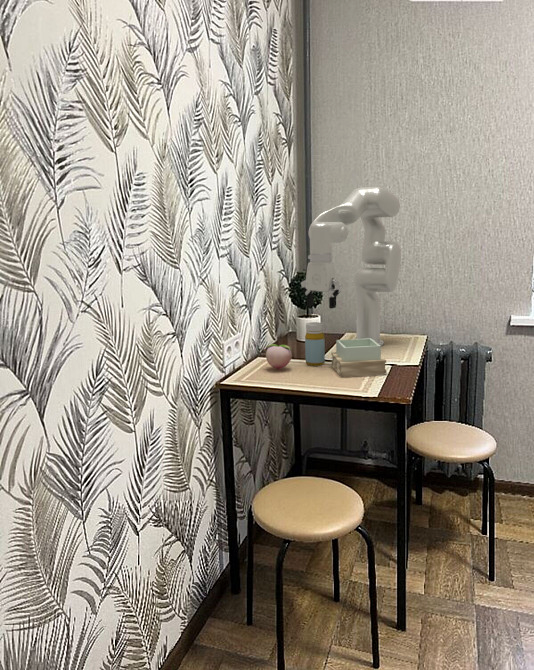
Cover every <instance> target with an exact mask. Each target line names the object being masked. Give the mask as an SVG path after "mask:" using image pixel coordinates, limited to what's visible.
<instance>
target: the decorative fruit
mask: <svg viewBox="0 0 534 670" xmlns="http://www.w3.org/2000/svg"><path fill="white" fill-rule="evenodd" d="M265 348H267V350H266V352H265V358H266V362H267V363H268V365H270V366H271V367H273V368H275V369H277V370H280V369H283V368H284V367H286V366H288V365H289V363H290V362H291V360H292V351H291V350H292V348H291V347H290V346H289V345H286V344H279V341H278V342H277V344H275V343H270V344H268V345H267V346H266V347H265Z"/></svg>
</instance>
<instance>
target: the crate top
mask: <svg viewBox="0 0 534 670" xmlns="http://www.w3.org/2000/svg"><path fill="white" fill-rule="evenodd" d="M335 345H336V346H335V347H336V348H335V349H336V350H335V352H336V353H337V355H338V356H339V357H340V358H341V359H342V360H343V361H344V362H349V361H367V360H381V357H382V354H381V353H382V349H381V348H382V346H380V345H379V344H378V343H376V342H375V341H374V340H373V339H371V338H367V339H357V338H355V339H354V338H351V339H336V340H335Z"/></svg>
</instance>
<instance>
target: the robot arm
mask: <svg viewBox="0 0 534 670" xmlns="http://www.w3.org/2000/svg"><path fill="white" fill-rule="evenodd" d="M400 209H401V208H400V201H399V198H398V197H397V196H396V195H395V194H394V193H392V192H391V191H390V190H388V189H386V188H384V187H381V186H366V187H365V186H363V187H362V186H361V187H357V188H355V189H353V190H352V191H351V192H350V193H349V195H347V196H346V198H345V199H344V200H343V201H342V202H341V204H339V205H337V206H334V207H332V208H330V209H328V210H326V211H324V212H322V213H320V214H319V215H317V216H316V218H315V219H314V220H313V221H312V222H311V224H310V225H309V229H308V237H309V255H307V259H309V262H308V263H307V268H306V275H305V279H304V280H303V281H301V282H300V285H301V288H302V291H303V292H304V294H305V296H306V306H307V307H311V306H314V305H315V303H314V298H315V297H314V296H315V295H314V294H313V293H314V292H321V293H322V292H323V293H324V292H325V293H326V292H327V293H328V295H329V296H330V297H328V307H329V309H335V308H337V297H338V295H339V294H340V293H341V290H342V288H343V284H342V283H340V282H339V281H337V279H336V273H335V264H334V262H333V261H332V260H333V259H332V258H333V257H332V256H333V254H332V252H333V250H332V244H342V243H343V242H345V241H346V239H348V237H349V229H348V228H349V227H348V225H351V224H354V223H356V222H357V221H358V220H359V219H360V218H361V221H362V225H363V228H364V231H363V232H364V234H363V241H362V249H361V256H360V257H361V261H362V262H363V264H366V265H371V266H385V267H361V268H359V269H357V270H356V271H355V273H354V276H353V283H354V288H355V296H356V297H355V298H356V339H367V338H371V339H373V340H374V341H375V342H376V343H378V344H379V345H380V346H381V347H382V346H383V345H384V340H382V339H381V300H380V298H379V295H377V293H393V292H395V290H396V288H397V285H398V282H399V276H400V275H399V274H400V269H401V260H402V249H401V245H400V244H399V243H398V242H396V241H392V240H391V241H390V240H389V241H388V240H386V234H387V233H386V232H387V231H386V227H385V225H384V223H383V222H382V221H381V219H380V218H394V217H395V216H397V215H398V214H399V213H400V212H399V211H400ZM376 292H377V293H376Z"/></svg>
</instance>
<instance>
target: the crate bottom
mask: <svg viewBox="0 0 534 670" xmlns="http://www.w3.org/2000/svg"><path fill="white" fill-rule="evenodd" d="M330 354H331V356H332V357H331V359H332V361H331V362H330V365H331V367H332V368H333V369H334V370H335V372H336V374H338V375H339V377H340V378H351V377H353V378H354V377H365V376H366V377H369V376H370V377H371V376H383V375H384V376H385V375H386V374H387V369H386V364H387V360H386V359H385V358H384V357H383V356H381V360H367V361H349V362H344V361H343V360H342V359H341V358H340V357H339V356H338V355H337V353H336V351H334V352H333V351H332V352H331V353H330Z"/></svg>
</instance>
